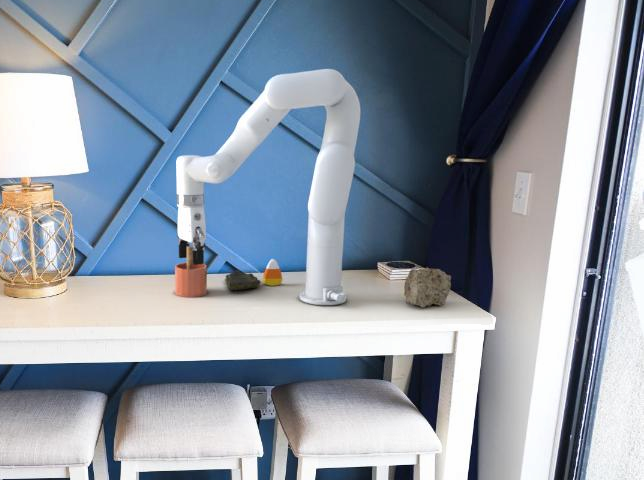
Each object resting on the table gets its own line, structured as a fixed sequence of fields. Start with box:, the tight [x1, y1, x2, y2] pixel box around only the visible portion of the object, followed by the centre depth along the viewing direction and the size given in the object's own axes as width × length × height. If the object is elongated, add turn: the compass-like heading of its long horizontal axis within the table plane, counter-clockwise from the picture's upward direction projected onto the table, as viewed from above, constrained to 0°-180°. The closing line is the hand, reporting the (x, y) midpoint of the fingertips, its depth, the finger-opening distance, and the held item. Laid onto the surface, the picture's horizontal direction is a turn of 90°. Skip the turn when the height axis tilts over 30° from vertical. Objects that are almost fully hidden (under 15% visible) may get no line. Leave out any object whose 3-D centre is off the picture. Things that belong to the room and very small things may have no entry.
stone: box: [224, 269, 261, 291], centre depth 191 cm, size 19×4×10 cm
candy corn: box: [262, 258, 283, 287], centre depth 191 cm, size 6×3×8 cm, turn 93°
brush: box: [186, 245, 194, 269], centre depth 182 cm, size 5×5×13 cm
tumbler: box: [174, 262, 208, 298], centre depth 182 cm, size 9×9×8 cm
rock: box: [403, 267, 452, 308], centre depth 171 cm, size 11×12×10 cm
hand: (190, 260), depth 181 cm, fingers open, 9 cm apart
